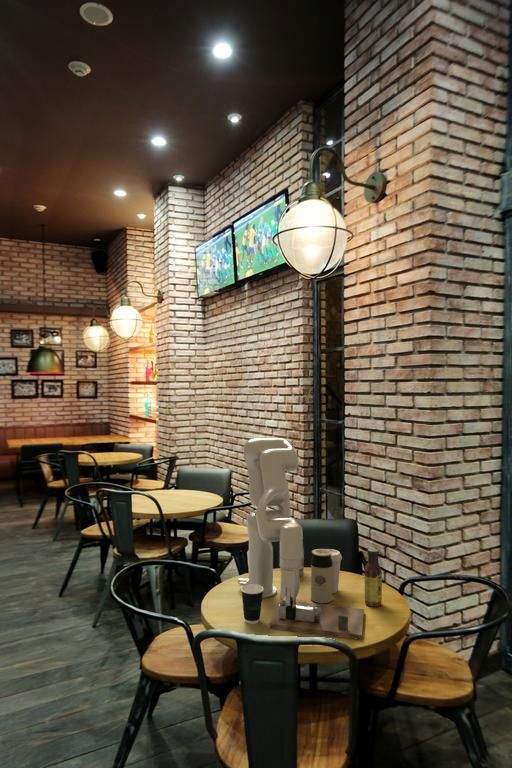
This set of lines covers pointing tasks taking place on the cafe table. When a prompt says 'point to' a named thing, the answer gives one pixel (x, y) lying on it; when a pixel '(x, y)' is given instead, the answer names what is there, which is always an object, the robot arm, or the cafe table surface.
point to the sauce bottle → (373, 580)
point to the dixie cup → (252, 602)
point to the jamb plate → (325, 621)
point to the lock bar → (302, 612)
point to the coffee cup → (335, 569)
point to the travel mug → (321, 576)
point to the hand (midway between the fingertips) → (290, 618)
